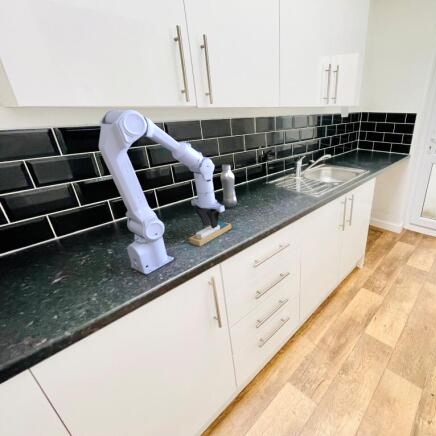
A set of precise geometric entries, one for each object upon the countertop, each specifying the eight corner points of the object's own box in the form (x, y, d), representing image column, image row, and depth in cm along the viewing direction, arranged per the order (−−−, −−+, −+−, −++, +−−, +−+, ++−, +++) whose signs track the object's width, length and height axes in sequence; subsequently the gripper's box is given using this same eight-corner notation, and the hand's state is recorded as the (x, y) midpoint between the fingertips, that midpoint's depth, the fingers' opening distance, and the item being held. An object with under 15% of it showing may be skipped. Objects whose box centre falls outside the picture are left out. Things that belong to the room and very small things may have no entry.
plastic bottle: (225, 209, 120) (219, 167, 112) (222, 205, 126) (217, 164, 117) (238, 207, 122) (234, 166, 114) (236, 203, 128) (231, 163, 120)
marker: (202, 241, 91) (201, 234, 90) (196, 239, 93) (195, 232, 91) (225, 228, 101) (225, 222, 100) (220, 227, 102) (219, 220, 101)
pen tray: (200, 246, 89) (199, 241, 88) (189, 242, 92) (189, 238, 91) (231, 228, 102) (231, 223, 101) (222, 225, 104) (221, 221, 104)
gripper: (228, 191, 90) (232, 226, 95) (199, 185, 96) (204, 218, 102) (214, 197, 84) (219, 233, 90) (184, 190, 91) (190, 225, 96)
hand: (210, 226), depth 95 cm, fingers open, 4 cm apart
